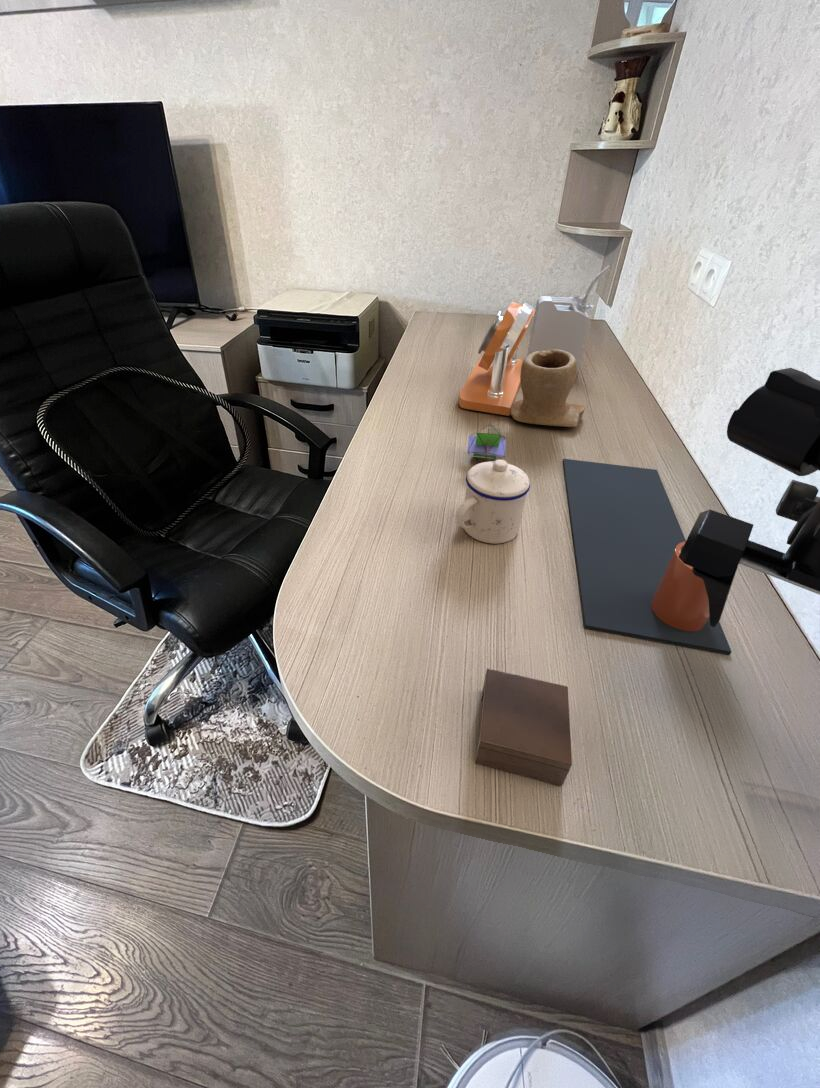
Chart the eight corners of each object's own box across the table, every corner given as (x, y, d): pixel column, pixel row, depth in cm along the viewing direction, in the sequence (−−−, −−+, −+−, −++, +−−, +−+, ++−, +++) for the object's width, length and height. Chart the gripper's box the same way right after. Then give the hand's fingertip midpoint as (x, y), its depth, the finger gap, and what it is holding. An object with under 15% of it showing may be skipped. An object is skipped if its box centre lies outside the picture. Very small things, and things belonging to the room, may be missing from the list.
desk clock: (528, 369, 130) (543, 288, 119) (511, 418, 107) (528, 323, 96) (481, 363, 134) (491, 283, 122) (454, 409, 111) (464, 316, 99)
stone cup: (506, 429, 103) (518, 359, 95) (511, 405, 112) (522, 339, 104) (584, 440, 99) (604, 368, 91) (582, 414, 109) (600, 347, 100)
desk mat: (729, 655, 58) (732, 651, 58) (584, 628, 61) (585, 625, 61) (655, 472, 90) (656, 469, 89) (562, 461, 93) (563, 458, 93)
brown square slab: (562, 786, 46) (572, 764, 44) (474, 763, 48) (480, 741, 46) (559, 708, 52) (567, 686, 50) (482, 690, 54) (487, 667, 52)
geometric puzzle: (505, 467, 87) (511, 422, 87) (465, 463, 88) (471, 418, 88) (501, 471, 94) (506, 429, 94) (464, 467, 95) (469, 425, 95)
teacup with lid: (488, 502, 82) (498, 440, 76) (532, 530, 76) (547, 466, 70) (433, 529, 77) (439, 464, 70) (476, 562, 71) (487, 495, 64)
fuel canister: (584, 366, 132) (611, 264, 118) (588, 373, 128) (615, 268, 114) (525, 362, 134) (543, 262, 120) (526, 369, 130) (546, 266, 116)
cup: (716, 631, 60) (749, 577, 55) (665, 631, 60) (692, 577, 55) (689, 593, 65) (717, 540, 60) (641, 593, 65) (665, 540, 60)
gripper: (1047, 509, 35) (910, 649, 44) (741, 428, 45) (679, 556, 54) (1086, 600, 28) (914, 745, 37) (714, 480, 38) (649, 617, 47)
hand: (771, 650), depth 44 cm, fingers open, 9 cm apart
